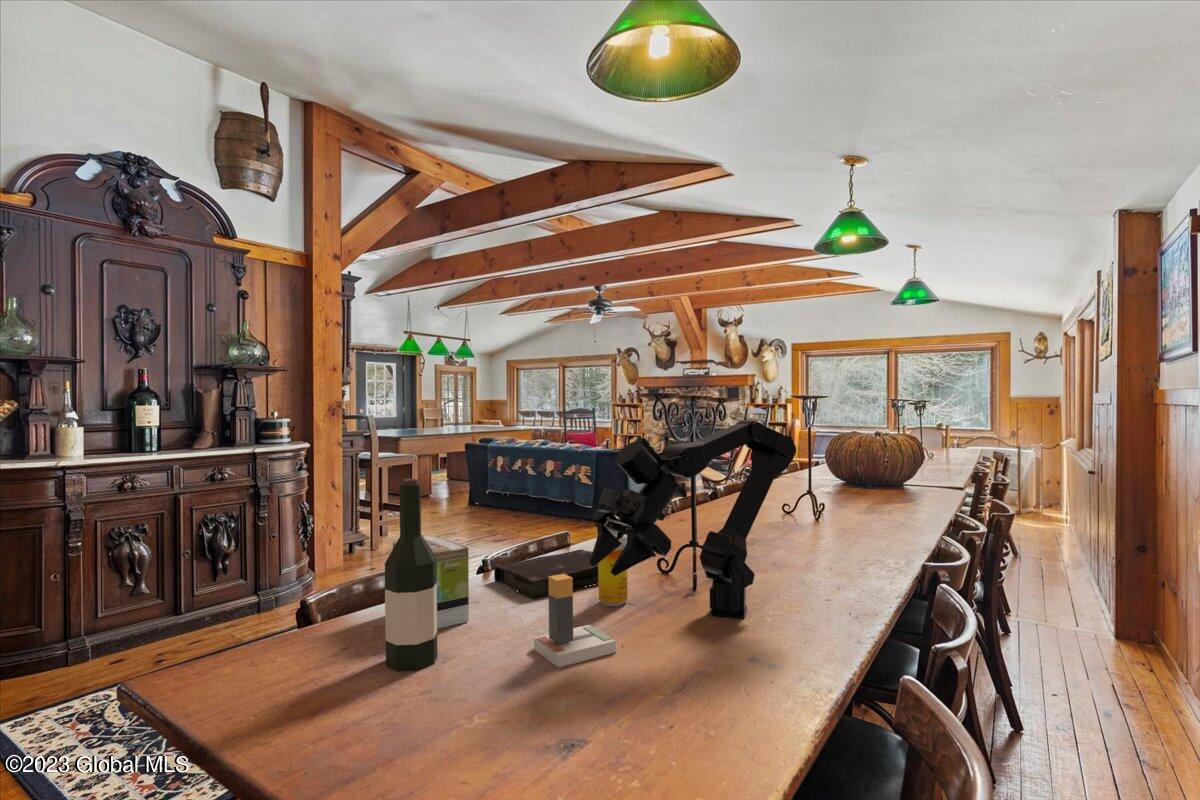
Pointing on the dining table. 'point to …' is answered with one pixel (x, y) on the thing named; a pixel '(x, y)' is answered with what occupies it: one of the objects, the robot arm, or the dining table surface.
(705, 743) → the dining table surface
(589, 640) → the plate
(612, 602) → the beer can
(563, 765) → the dining table surface
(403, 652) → the wine bottle
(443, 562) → the tea box
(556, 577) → the lever
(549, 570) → the diary
